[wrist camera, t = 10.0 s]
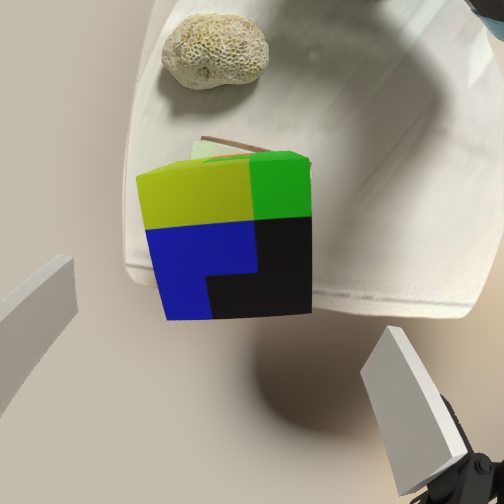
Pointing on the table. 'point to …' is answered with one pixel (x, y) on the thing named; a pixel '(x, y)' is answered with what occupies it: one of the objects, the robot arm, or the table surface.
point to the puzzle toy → (230, 235)
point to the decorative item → (215, 51)
